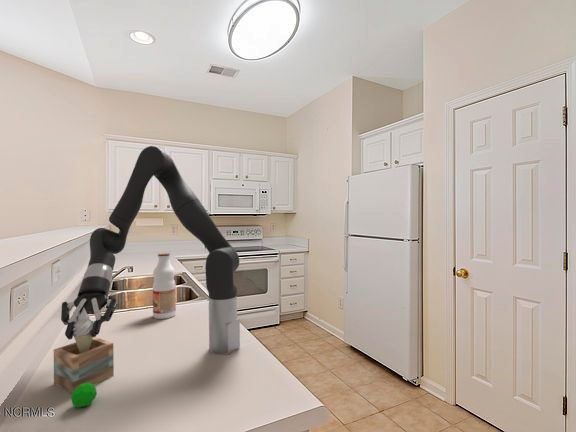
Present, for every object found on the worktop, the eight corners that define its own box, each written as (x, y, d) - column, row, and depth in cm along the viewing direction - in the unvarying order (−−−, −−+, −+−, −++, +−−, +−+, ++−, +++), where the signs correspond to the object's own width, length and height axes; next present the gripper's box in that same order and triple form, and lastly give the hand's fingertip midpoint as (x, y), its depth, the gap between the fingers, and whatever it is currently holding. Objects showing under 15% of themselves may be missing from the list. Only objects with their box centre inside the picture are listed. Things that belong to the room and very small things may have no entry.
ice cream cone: (71, 368, 78) (70, 311, 78) (74, 360, 83) (74, 305, 83) (94, 364, 81) (93, 308, 81) (96, 356, 85) (95, 303, 85)
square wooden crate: (113, 375, 84) (113, 343, 84) (73, 394, 75) (73, 357, 75) (93, 367, 88) (93, 336, 89) (53, 383, 80) (53, 349, 80)
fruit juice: (170, 319, 130) (169, 254, 130) (148, 319, 130) (148, 254, 130) (179, 312, 139) (178, 251, 139) (159, 312, 139) (158, 252, 140)
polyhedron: (88, 411, 68) (88, 390, 68) (66, 412, 68) (65, 391, 68) (101, 398, 73) (100, 378, 73) (79, 399, 73) (79, 379, 73)
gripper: (65, 276, 87) (44, 333, 76) (120, 273, 91) (108, 327, 79) (73, 290, 92) (54, 346, 81) (125, 287, 96) (114, 339, 84)
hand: (81, 336), depth 80 cm, fingers closed on ice cream cone, 5 cm apart
